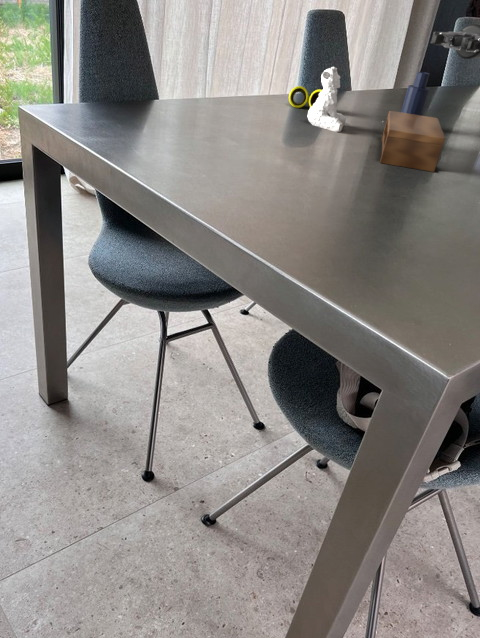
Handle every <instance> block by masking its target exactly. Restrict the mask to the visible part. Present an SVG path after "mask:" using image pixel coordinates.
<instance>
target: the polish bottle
mask: <svg viewBox="0 0 480 638" xmlns="http://www.w3.org/2000/svg"><path fill="white" fill-rule="evenodd" d="M430 75H431V74H430V72H427V71H417V73H416V76H415V79H414V83H413V84H408V86H407V89H406V93H405V96H404V100H403V104H402V107H401V111H400V112H402V113H408V114H414V115H421V116H424V115H423V114H424V111H425V108H426V105H427V102H428V98H429V95H430V91H431V88H430V87H427V84H428V81H429V77H430Z"/></svg>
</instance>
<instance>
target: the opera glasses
mask: <svg viewBox="0 0 480 638" xmlns="http://www.w3.org/2000/svg"><path fill="white" fill-rule="evenodd" d="M322 90H323V89H318V88H317V89H316V90H314V91H313V92H311V93H310V96H309V92H308V90H307V88H306V87H304V86H302V85H296V86H295V87H293V88H292V89H291V90H290V92H289V94H288V102H289V104H290V105H291V106H292V107H293V108H295V109H301V108H303V107H304V106H305V105H307V103H308V106H309V109H310V108H311V106H313V104H314V103H315V102H316V100H317V99H318V97H319V93H320V92H321V91H322ZM298 93H301V94H302V95H303V100H302V101H301V102H299V103H298V102H296V101H295V99H294V98H295V95H296V94H298Z"/></svg>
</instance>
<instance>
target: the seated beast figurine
mask: <svg viewBox="0 0 480 638" xmlns="http://www.w3.org/2000/svg"><path fill="white" fill-rule="evenodd" d="M320 78H321V81H320V82H321V86H322V88H323V89H321V90H322V91H321V92H320V93H319V97H318V99H317V100H316V102H315V103H314V104H313V106H311V108H310V107H309V109H308V111H307V115H306V116H307V117H306V118H307V121H308V122H309V123H310V124H311V125H312V126H314V127H316V128H317V127H318V128H321V129H325V130H328V131H330V132H331V131H332V132H335V133H341V132H342V130H343V127H344V126H345V124H346V121H347V117H346V116H345V115H343V114H342V113H340V112H338V108H337V107H338V89H340V87H341V80H340V79H341V76H340V75H339V73H338V67H335V66H331V67H328V68H326V69H325V70H323V72H322V73H321V76H320Z"/></svg>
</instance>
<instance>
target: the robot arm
mask: <svg viewBox="0 0 480 638" xmlns="http://www.w3.org/2000/svg"><path fill="white" fill-rule="evenodd" d="M429 43H430V44H431V45H433V46H443V47H444V48H445V49H452V50H453V51H455V53H456V54H457V55H458V56H459V57H460V58H461V59H464V60H472V59H480V23H472V24H468V25H466V26H464V27H463V28H462V29H461V30H459V31H436V30H435V31H433V33H432V37H431V39H430V42H429Z"/></svg>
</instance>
